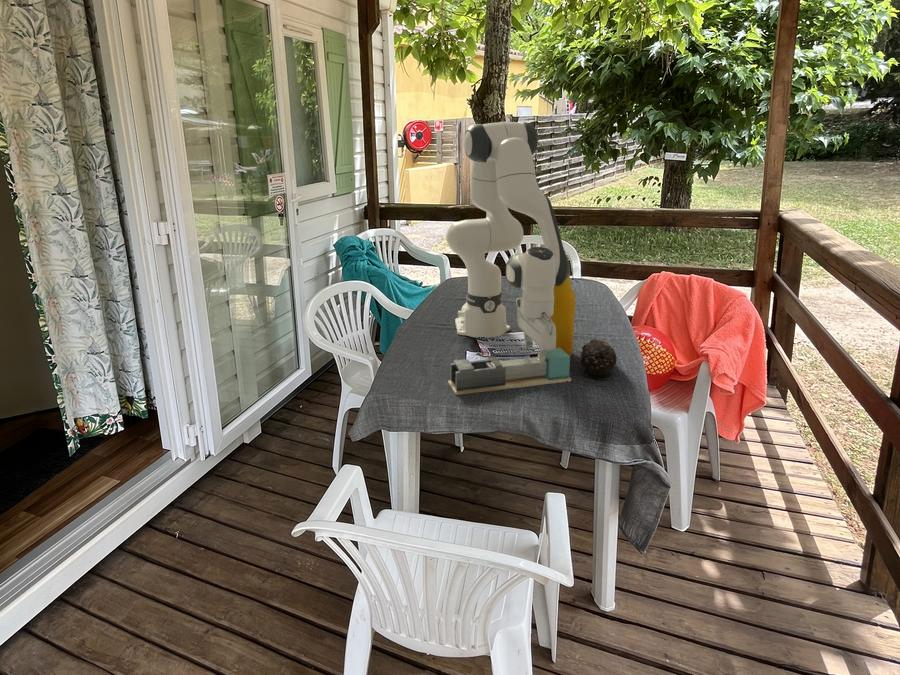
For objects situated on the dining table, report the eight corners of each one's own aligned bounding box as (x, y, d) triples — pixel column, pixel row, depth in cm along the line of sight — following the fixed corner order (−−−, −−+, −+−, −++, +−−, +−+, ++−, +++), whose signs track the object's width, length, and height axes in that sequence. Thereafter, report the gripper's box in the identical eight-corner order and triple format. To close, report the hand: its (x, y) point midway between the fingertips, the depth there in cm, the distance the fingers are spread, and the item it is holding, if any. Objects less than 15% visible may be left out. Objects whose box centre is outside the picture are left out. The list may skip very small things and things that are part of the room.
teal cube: (539, 373, 185) (540, 349, 182) (558, 371, 186) (559, 347, 183) (549, 382, 178) (550, 358, 176) (568, 380, 180) (570, 356, 177)
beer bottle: (545, 360, 194) (549, 268, 184) (540, 349, 203) (544, 260, 193) (575, 359, 194) (581, 267, 184) (569, 348, 203) (574, 260, 193)
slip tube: (485, 375, 179) (485, 362, 177) (551, 368, 183) (551, 355, 182) (490, 381, 175) (490, 368, 174) (557, 373, 180) (557, 360, 178)
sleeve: (450, 381, 178) (450, 360, 176) (497, 375, 181) (497, 355, 179) (456, 391, 172) (456, 370, 170) (505, 385, 175) (505, 364, 173)
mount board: (448, 383, 179) (448, 380, 179) (559, 370, 187) (559, 367, 186) (455, 394, 172) (455, 392, 171) (571, 381, 179) (571, 378, 179)
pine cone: (607, 358, 195) (610, 328, 192) (618, 382, 178) (621, 349, 175) (573, 358, 196) (575, 327, 192) (581, 382, 179) (583, 349, 175)
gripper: (563, 319, 165) (560, 367, 170) (534, 295, 183) (532, 339, 189) (541, 321, 164) (538, 369, 169) (514, 297, 182) (512, 341, 187)
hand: (534, 353), depth 179 cm, fingers open, 8 cm apart
